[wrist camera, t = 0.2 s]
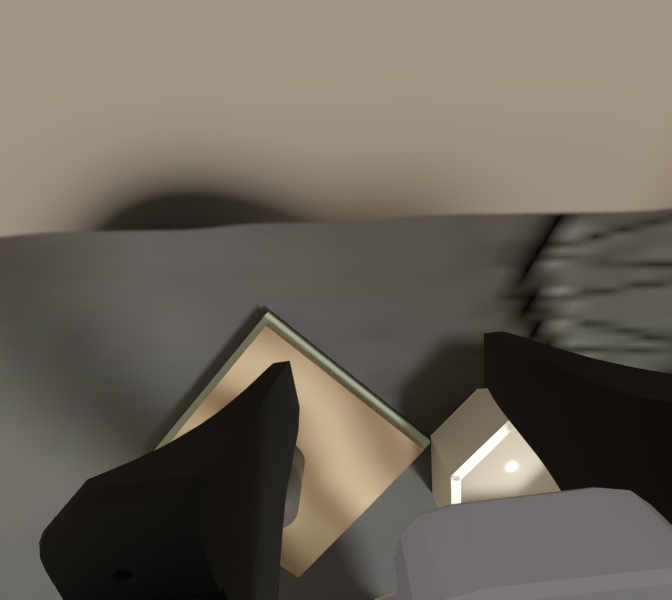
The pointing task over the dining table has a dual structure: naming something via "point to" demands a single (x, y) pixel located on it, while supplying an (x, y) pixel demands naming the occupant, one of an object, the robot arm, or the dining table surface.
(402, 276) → the dining table surface
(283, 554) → the lid
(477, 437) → the bowl
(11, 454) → the dining table surface
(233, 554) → the robot arm
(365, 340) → the dining table surface
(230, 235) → the dining table surface
